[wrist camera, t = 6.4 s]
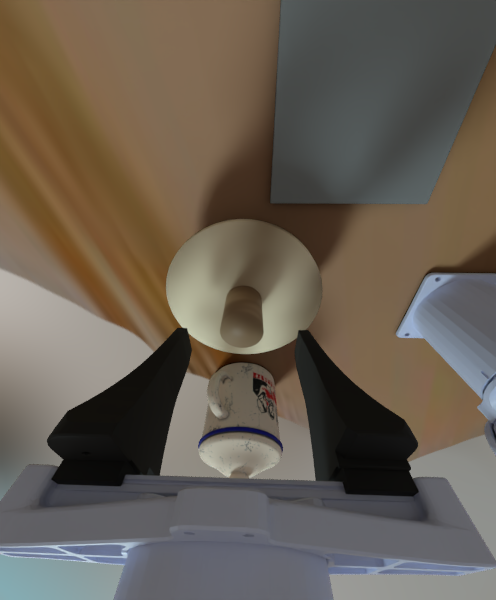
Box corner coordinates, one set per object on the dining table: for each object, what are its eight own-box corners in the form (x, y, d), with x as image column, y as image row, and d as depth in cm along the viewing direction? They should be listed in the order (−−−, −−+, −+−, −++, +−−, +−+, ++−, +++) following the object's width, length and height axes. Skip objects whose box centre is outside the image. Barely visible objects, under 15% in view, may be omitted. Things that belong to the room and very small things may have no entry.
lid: (340, 226, 14) (370, 250, 10) (301, 351, 21) (311, 393, 17) (158, 211, 14) (124, 230, 10) (178, 343, 21) (161, 383, 17)
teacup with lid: (284, 391, 31) (298, 496, 22) (229, 404, 33) (219, 505, 24) (252, 336, 25) (251, 447, 16) (187, 356, 27) (151, 464, 18)
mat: (535, -70, 10) (549, -82, 10) (422, 202, 17) (427, 203, 16) (284, -65, 10) (285, -76, 10) (270, 201, 17) (270, 203, 17)
